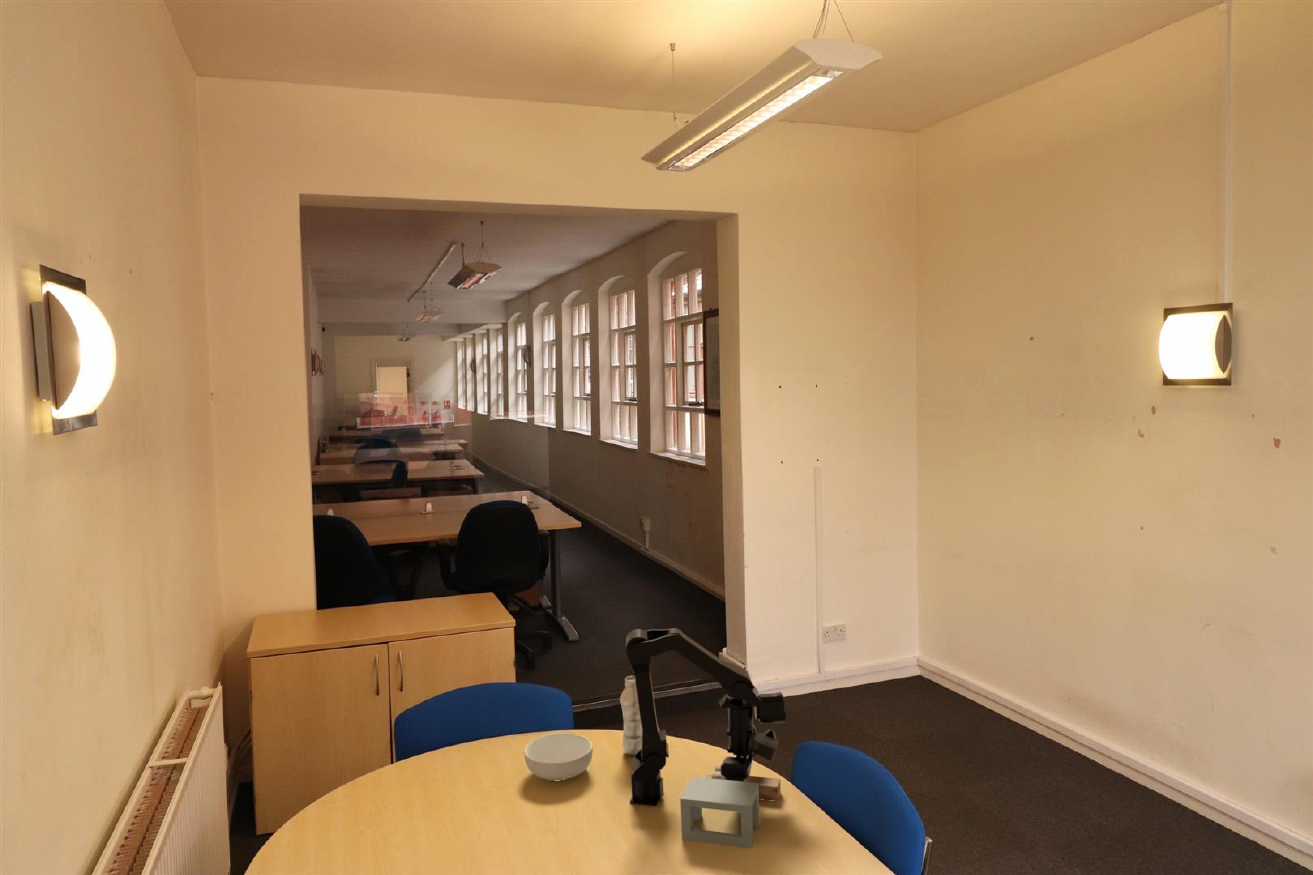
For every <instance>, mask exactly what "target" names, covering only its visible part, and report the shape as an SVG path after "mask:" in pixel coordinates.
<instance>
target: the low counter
mask: <svg viewBox="0 0 1313 875" xmlns="http://www.w3.org/2000/svg"><path fill="white" fill-rule="evenodd" d="M679 801H680V803H679V804H680V822H681V823H680V825H681V826H680V827H681V840H687V841H695V842H704V843H709V844H711V843H712V844H719V845H727V846H734V847H741V848H742V847H744V848H749V849H750V848H752V846H753V844H754V830H753V828H759V826H760V824H761V823H760V822H761V821H760V800H759V785H758V783H750V782H740V781H730V780H721V779H711V778H705V777H702V776H701V777H699V776H691V777H690V779H689V782H688V783H687V785H686V787H685V788H684V791H683V793H682V795H681V796H680V798H679ZM703 809H711V810H718V811H727V812H738V813H740V828H741V831H740V832H741V833H740V834H738V833H730V832H729V833H728V832H722V831H721V832H720V831H714V830H713V831H712V830H705V829H697V828H694V823H693V822H694V821H697V822H698V821H699V822H700V821H701V819H702V818H703Z"/></svg>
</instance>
